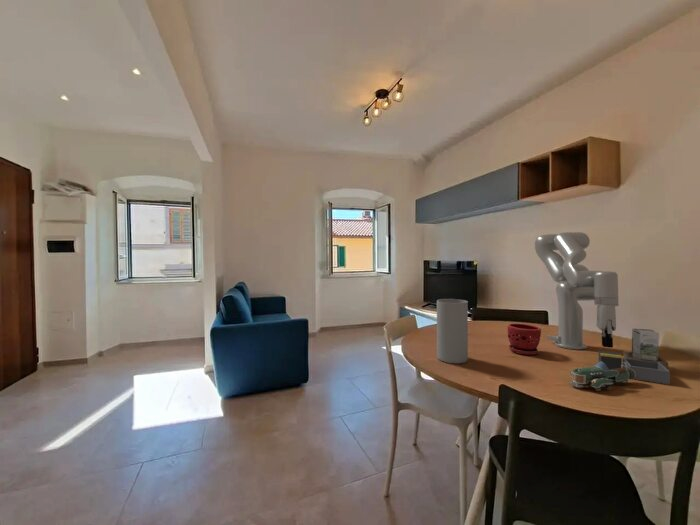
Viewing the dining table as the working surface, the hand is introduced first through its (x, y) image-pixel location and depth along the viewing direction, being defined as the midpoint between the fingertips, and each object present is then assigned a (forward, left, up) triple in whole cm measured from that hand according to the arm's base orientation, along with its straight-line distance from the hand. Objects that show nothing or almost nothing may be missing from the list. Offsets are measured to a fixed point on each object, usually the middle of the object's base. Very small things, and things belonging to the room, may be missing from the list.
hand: (607, 346), depth 123 cm
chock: (0, -8, -7) cm, 10 cm away
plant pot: (-29, -1, -7) cm, 30 cm away
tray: (+9, -11, -7) cm, 16 cm away
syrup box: (+12, +2, -7) cm, 13 cm away
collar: (+12, +1, -7) cm, 13 cm away
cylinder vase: (-55, -27, -7) cm, 62 cm away
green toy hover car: (-5, -27, -7) cm, 29 cm away
